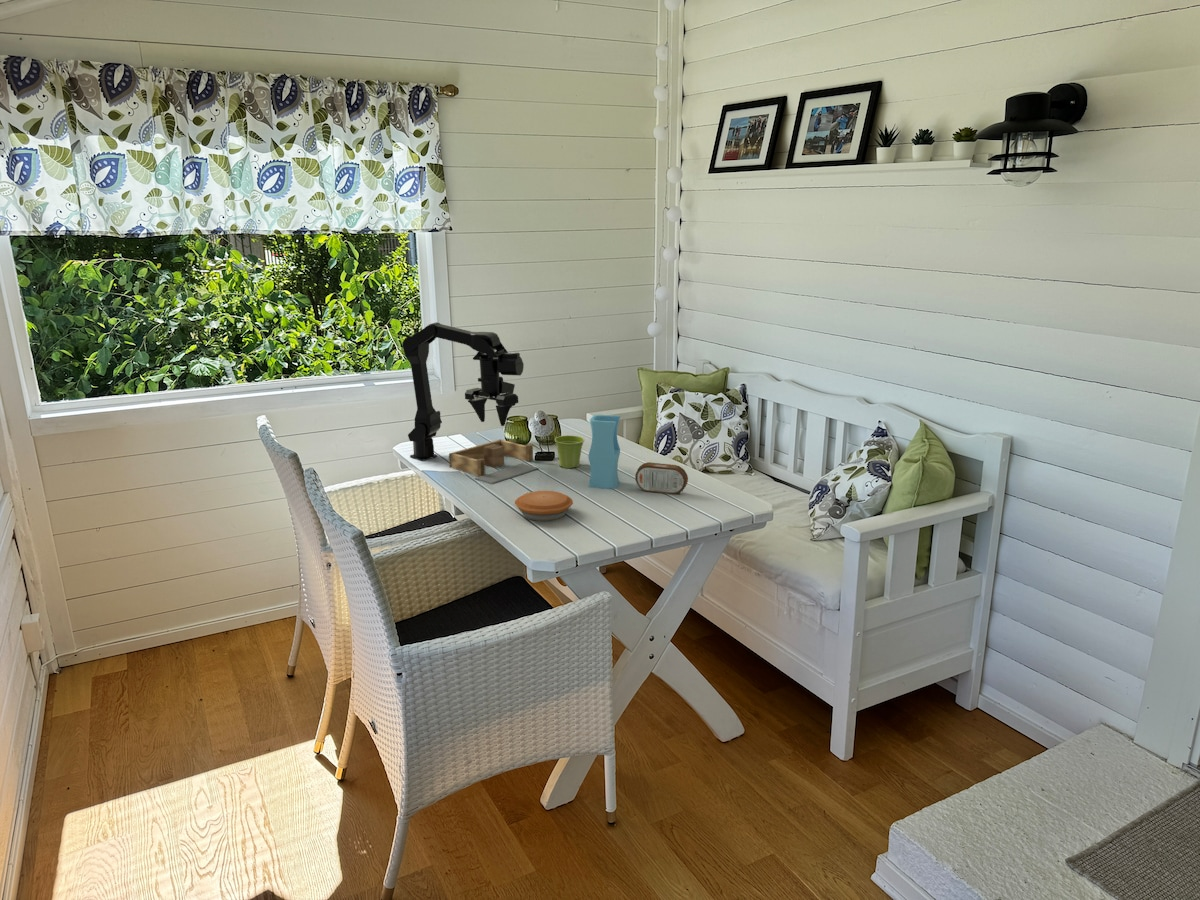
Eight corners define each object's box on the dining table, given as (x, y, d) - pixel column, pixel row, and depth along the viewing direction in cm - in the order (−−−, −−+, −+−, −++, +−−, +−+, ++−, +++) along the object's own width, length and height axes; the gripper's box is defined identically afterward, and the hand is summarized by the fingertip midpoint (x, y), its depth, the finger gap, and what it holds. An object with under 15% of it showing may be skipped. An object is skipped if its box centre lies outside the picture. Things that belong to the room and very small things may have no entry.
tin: (687, 493, 252) (688, 465, 250) (685, 496, 249) (686, 468, 247) (636, 488, 256) (637, 460, 253) (634, 491, 253) (634, 463, 250)
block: (484, 465, 277) (483, 447, 275) (494, 462, 280) (493, 444, 278) (493, 467, 274) (493, 449, 272) (504, 464, 277) (503, 446, 276)
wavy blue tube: (614, 489, 255) (615, 422, 249) (588, 487, 256) (588, 420, 251) (619, 480, 262) (620, 415, 257) (593, 479, 264) (594, 414, 258)
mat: (474, 479, 263) (474, 477, 263) (522, 464, 277) (522, 463, 277) (491, 484, 258) (491, 482, 258) (538, 469, 273) (538, 467, 273)
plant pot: (586, 462, 281) (586, 435, 278) (582, 470, 272) (582, 443, 269) (557, 461, 282) (556, 434, 279) (552, 469, 273) (552, 442, 270)
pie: (542, 500, 245) (542, 483, 244) (584, 513, 236) (584, 495, 234) (502, 515, 234) (502, 497, 232) (545, 528, 224) (545, 510, 223)
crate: (448, 467, 274) (448, 451, 272) (501, 452, 290) (501, 437, 289) (480, 476, 265) (480, 460, 263) (532, 460, 282) (532, 445, 280)
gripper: (530, 373, 269) (532, 422, 273) (488, 367, 281) (491, 415, 285) (503, 379, 261) (506, 430, 265) (462, 372, 273) (465, 421, 277)
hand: (492, 423), depth 273 cm, fingers open, 9 cm apart
